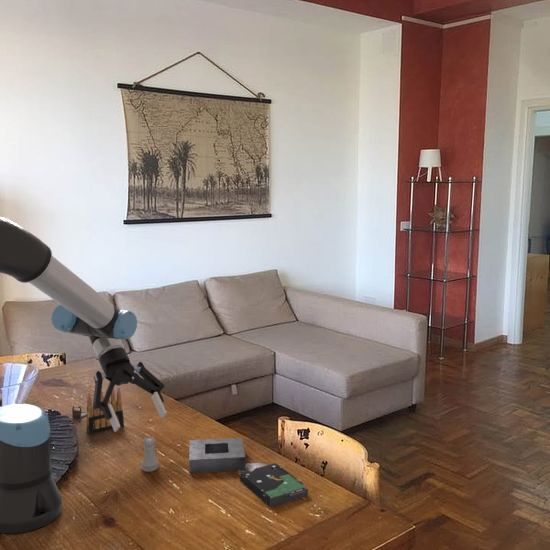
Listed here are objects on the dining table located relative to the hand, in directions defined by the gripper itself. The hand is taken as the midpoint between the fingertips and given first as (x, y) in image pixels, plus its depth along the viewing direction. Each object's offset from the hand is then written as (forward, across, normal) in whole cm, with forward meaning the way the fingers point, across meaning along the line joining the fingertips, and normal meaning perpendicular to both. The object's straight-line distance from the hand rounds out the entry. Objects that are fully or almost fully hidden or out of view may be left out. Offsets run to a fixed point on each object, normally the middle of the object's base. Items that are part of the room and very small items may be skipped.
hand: (141, 422), depth 156 cm
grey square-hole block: (+17, -14, +3) cm, 22 cm away
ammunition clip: (-10, -2, -25) cm, 27 cm away
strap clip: (-19, 0, -35) cm, 40 cm away
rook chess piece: (+12, +2, -3) cm, 12 cm away
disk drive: (+32, -15, +17) cm, 39 cm away
